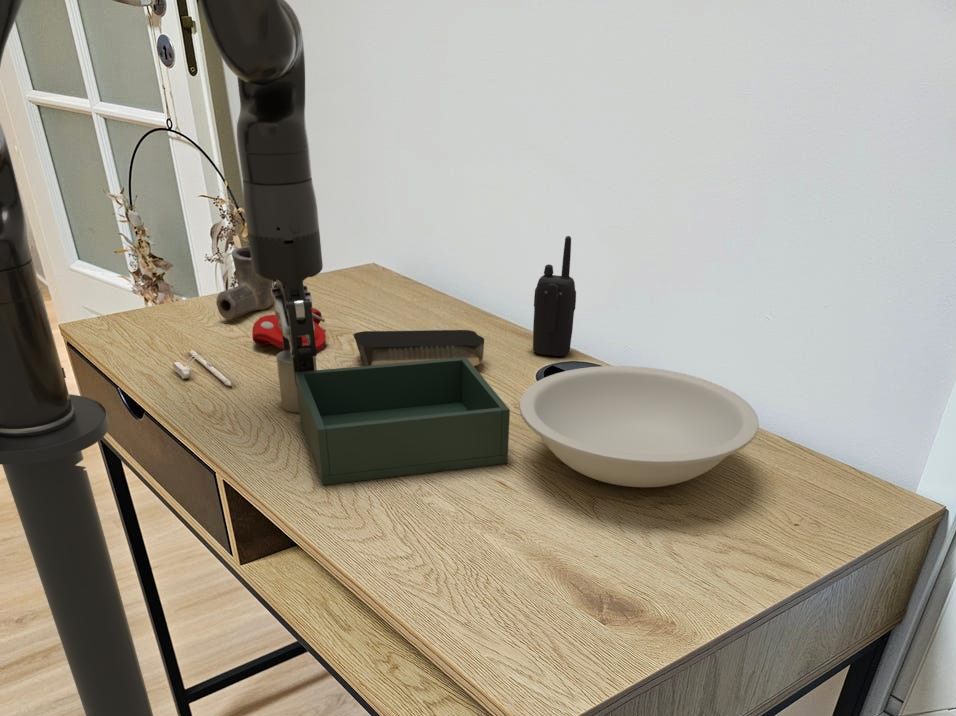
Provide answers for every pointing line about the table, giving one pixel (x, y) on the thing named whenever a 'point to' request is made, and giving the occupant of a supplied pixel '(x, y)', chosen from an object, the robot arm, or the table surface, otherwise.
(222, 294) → the pipe
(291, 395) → the metal cylinder
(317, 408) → the bin
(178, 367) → the picture light
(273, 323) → the tracker holder
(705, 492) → the table surface
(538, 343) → the two-way radio
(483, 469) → the table surface
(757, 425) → the soup bowl
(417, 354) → the bristle scrub brush
